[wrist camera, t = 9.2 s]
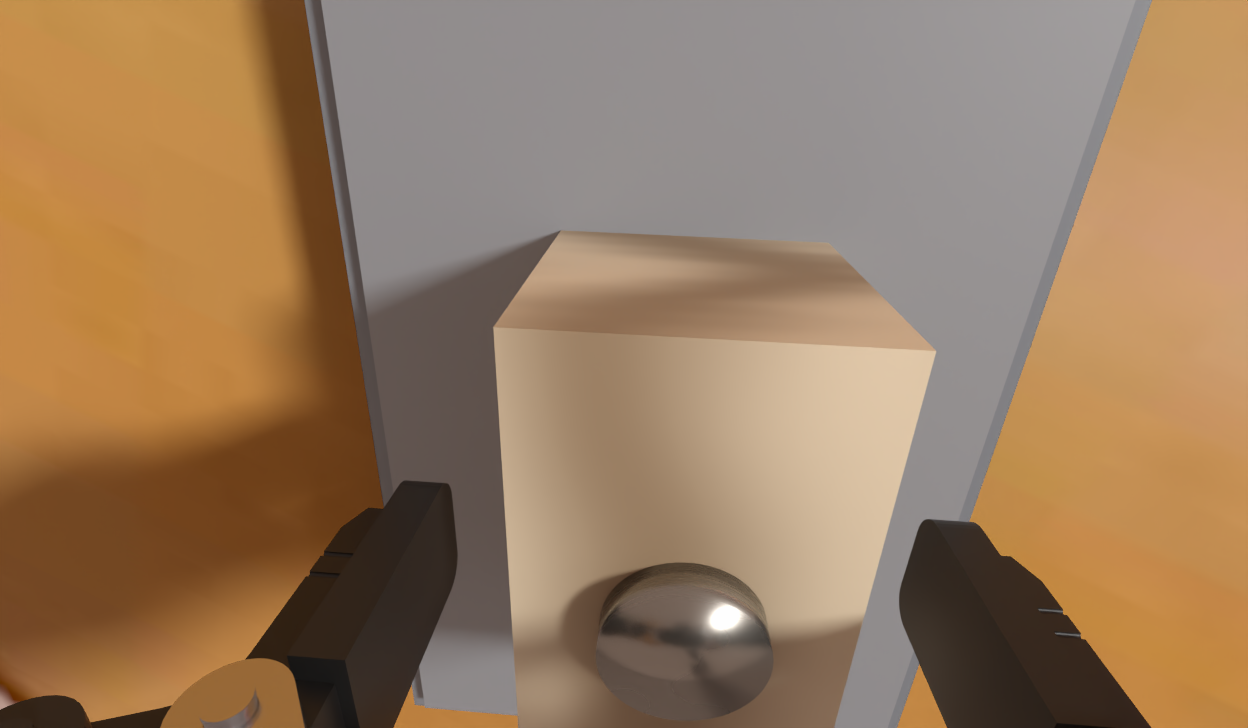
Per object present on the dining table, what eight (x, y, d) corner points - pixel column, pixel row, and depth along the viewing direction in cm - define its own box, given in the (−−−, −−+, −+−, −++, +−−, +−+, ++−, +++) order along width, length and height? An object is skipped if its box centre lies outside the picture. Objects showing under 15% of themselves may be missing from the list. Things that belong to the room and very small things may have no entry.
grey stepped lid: (864, 667, 20) (894, 759, 17) (443, 633, 21) (409, 717, 18) (1082, -66, 12) (1208, -110, 9) (358, -90, 12) (269, -139, 9)
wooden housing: (828, 242, 11) (960, 373, 6) (765, 601, 15) (814, 864, 10) (561, 230, 12) (478, 347, 6) (565, 587, 15) (515, 837, 10)
